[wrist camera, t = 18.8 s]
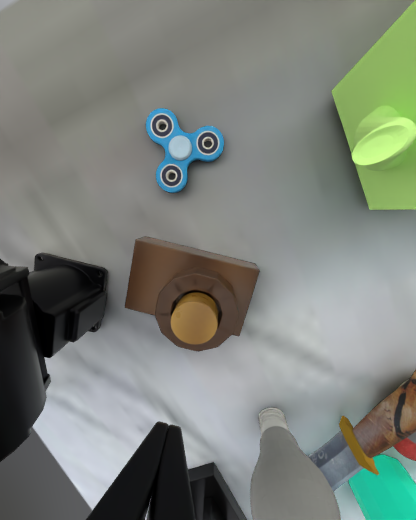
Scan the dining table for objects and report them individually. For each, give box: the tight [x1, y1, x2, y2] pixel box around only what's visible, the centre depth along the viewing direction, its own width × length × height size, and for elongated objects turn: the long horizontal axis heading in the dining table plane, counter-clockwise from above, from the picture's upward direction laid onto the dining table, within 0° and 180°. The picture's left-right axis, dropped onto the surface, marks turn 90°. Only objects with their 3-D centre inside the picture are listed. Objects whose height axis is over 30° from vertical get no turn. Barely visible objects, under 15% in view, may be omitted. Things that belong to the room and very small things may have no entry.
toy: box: [146, 108, 224, 193], centre depth 16 cm, size 6×6×1 cm
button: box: [171, 292, 218, 344], centre depth 15 cm, size 3×3×2 cm
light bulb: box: [250, 408, 341, 520], centre depth 17 cm, size 6×6×10 cm
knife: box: [308, 370, 416, 491], centre depth 20 cm, size 25×1×5 cm, turn 147°
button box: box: [125, 236, 260, 351], centre depth 18 cm, size 10×7×4 cm
